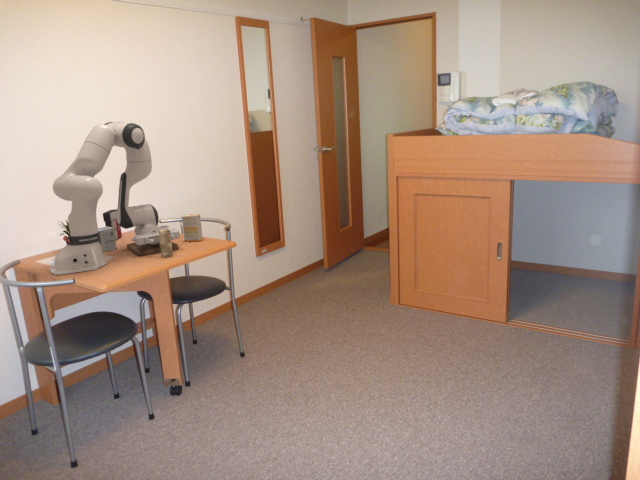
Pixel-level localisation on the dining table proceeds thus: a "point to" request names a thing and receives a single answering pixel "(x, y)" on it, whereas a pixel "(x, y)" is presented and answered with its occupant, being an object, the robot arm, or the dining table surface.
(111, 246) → the light bulb box
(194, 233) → the supplement box
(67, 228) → the house plant
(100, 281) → the dining table surface
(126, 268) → the dining table surface
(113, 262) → the dining table surface
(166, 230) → the beech block
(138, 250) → the walnut board
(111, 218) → the packaged product box
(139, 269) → the dining table surface
